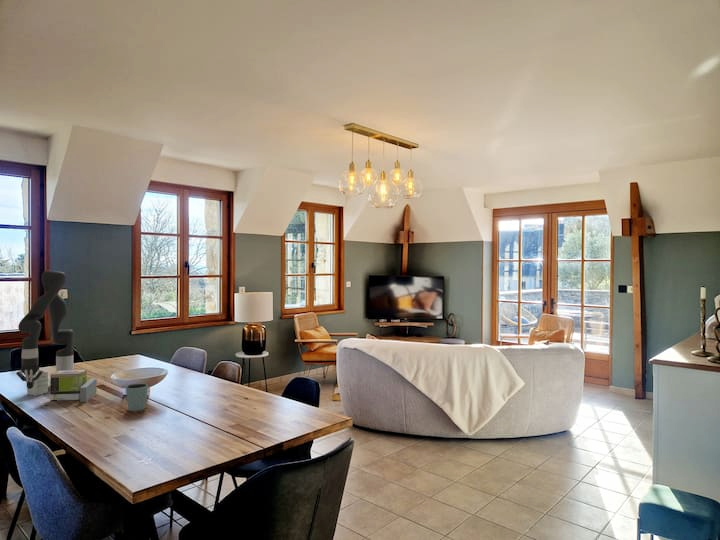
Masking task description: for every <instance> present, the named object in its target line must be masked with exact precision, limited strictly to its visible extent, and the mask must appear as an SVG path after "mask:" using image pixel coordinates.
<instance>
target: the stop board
mask: <svg viewBox="0 0 720 540" xmlns="http://www.w3.org/2000/svg"><path fill="white" fill-rule="evenodd" d="M97 379H98V378H96V377H95V378H93V377H91V378H89V380H88V379H87V382H86V383H85V384H84V385H83V386H81V387H80V400H79V403H80V402H82V403H88V402H89V400H90V399H91V398H92V397H93V396H94V395H95V394H96V393H97V391H98V390H97V387H98V385H97V381H98V380H97Z"/></svg>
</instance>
